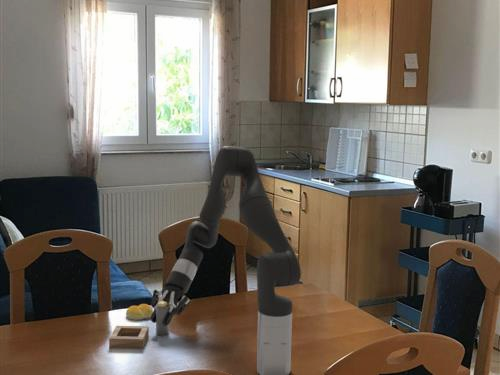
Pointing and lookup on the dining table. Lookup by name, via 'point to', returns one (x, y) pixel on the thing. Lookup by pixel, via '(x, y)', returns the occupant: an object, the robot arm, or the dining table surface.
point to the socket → (129, 337)
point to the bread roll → (139, 312)
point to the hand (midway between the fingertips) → (158, 322)
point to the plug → (161, 318)
